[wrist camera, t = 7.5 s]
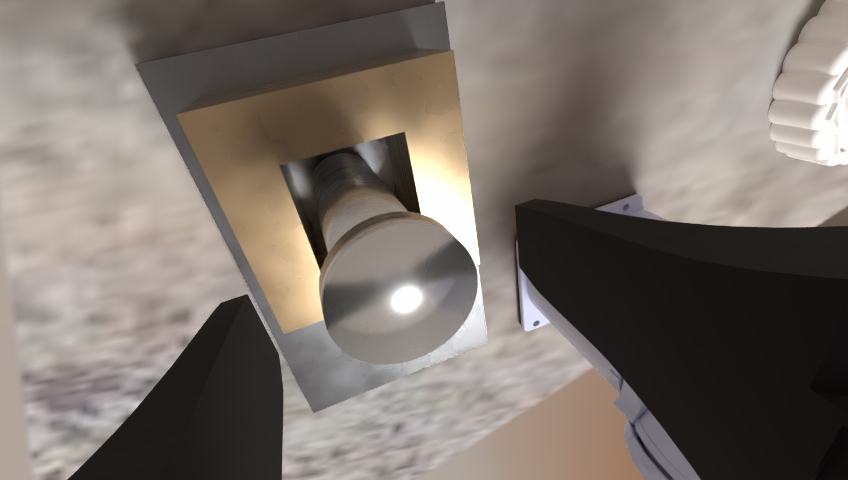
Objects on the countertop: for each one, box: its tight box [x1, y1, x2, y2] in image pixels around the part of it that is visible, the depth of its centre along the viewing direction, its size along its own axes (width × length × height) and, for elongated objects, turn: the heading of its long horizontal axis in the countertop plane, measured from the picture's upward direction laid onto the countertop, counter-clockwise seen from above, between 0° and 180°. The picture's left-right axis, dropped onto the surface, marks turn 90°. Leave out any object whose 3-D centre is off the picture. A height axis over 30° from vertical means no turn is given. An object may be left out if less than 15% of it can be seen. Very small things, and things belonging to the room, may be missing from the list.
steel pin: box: [310, 153, 478, 365], centre depth 14 cm, size 4×4×10 cm
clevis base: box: [135, 1, 488, 413], centre depth 19 cm, size 12×20×5 cm, turn 11°
